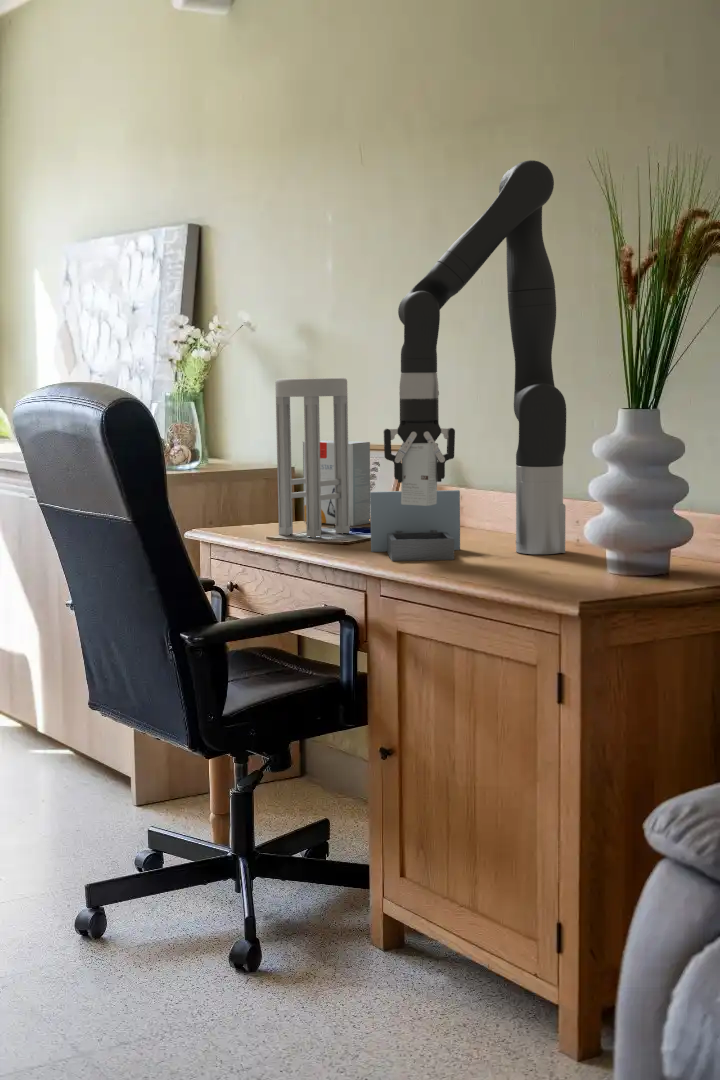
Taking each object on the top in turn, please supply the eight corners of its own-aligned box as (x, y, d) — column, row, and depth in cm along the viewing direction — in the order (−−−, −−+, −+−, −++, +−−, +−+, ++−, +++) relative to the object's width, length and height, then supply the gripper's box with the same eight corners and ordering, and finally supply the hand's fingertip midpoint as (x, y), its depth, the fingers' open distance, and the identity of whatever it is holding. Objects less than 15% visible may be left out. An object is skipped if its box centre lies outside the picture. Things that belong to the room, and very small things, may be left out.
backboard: (459, 548, 265) (458, 490, 264) (460, 549, 264) (459, 490, 262) (371, 550, 264) (370, 491, 263) (371, 551, 263) (370, 492, 261)
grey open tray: (445, 550, 264) (445, 529, 263) (454, 559, 249) (454, 537, 249) (386, 551, 263) (386, 530, 262) (391, 561, 249) (391, 539, 248)
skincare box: (400, 505, 253) (399, 442, 252) (410, 503, 257) (410, 441, 256) (428, 506, 250) (428, 443, 249) (438, 504, 254) (438, 442, 253)
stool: (362, 533, 295) (360, 377, 291) (313, 539, 284) (310, 378, 280) (314, 528, 306) (311, 378, 301) (265, 534, 294) (262, 379, 290)
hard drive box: (302, 522, 319) (300, 441, 316) (322, 519, 325) (320, 439, 322) (353, 526, 309) (351, 442, 307) (372, 523, 315) (371, 440, 313)
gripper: (453, 396, 255) (453, 480, 257) (380, 396, 255) (381, 481, 257) (458, 396, 248) (458, 483, 250) (383, 397, 247) (383, 484, 249)
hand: (419, 481), depth 253 cm, fingers closed on skincare box, 7 cm apart
